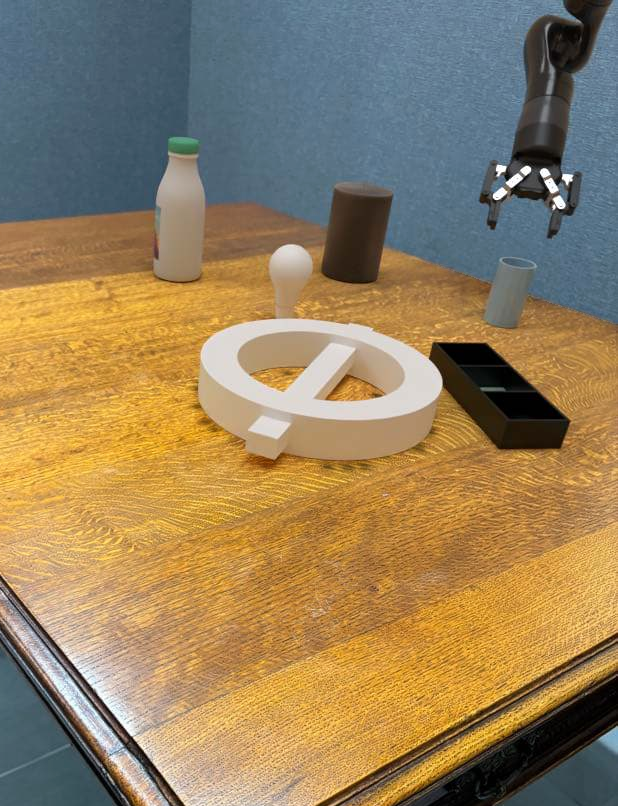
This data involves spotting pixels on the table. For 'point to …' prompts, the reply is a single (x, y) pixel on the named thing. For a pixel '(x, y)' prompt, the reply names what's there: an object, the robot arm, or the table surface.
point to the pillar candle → (356, 232)
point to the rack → (498, 397)
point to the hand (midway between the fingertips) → (521, 231)
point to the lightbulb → (289, 277)
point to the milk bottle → (180, 215)
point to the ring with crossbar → (317, 389)
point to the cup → (509, 292)
